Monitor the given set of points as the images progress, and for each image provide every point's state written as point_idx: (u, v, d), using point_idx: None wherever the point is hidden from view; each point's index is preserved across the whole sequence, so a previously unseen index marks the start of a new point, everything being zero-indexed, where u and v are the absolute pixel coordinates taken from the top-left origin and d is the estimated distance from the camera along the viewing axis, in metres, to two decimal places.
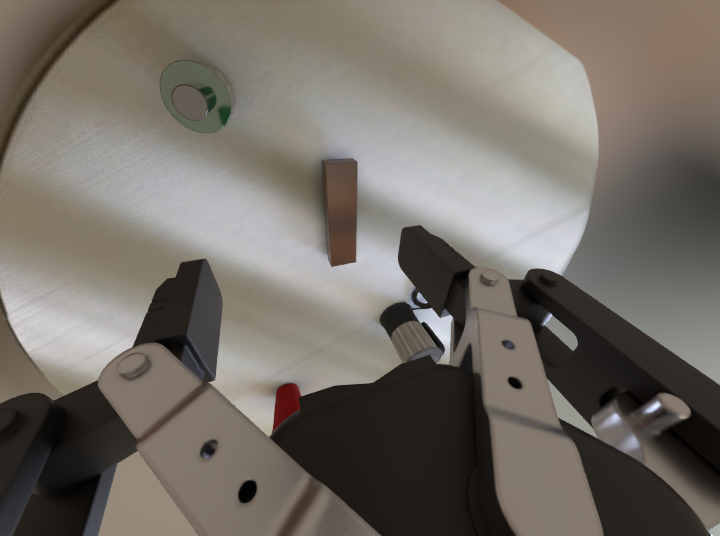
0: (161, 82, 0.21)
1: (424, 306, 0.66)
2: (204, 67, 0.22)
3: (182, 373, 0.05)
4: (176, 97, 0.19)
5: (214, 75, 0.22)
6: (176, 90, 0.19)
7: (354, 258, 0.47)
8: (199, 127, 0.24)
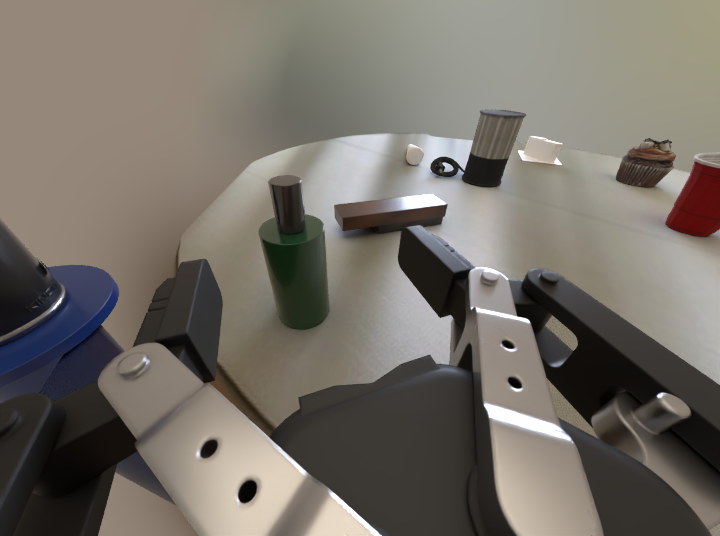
0: (280, 243, 0.19)
1: (455, 164, 0.66)
2: (263, 224, 0.22)
3: (182, 373, 0.05)
4: (280, 184, 0.18)
5: (269, 220, 0.22)
6: (274, 183, 0.18)
7: (428, 194, 0.45)
8: (319, 227, 0.22)
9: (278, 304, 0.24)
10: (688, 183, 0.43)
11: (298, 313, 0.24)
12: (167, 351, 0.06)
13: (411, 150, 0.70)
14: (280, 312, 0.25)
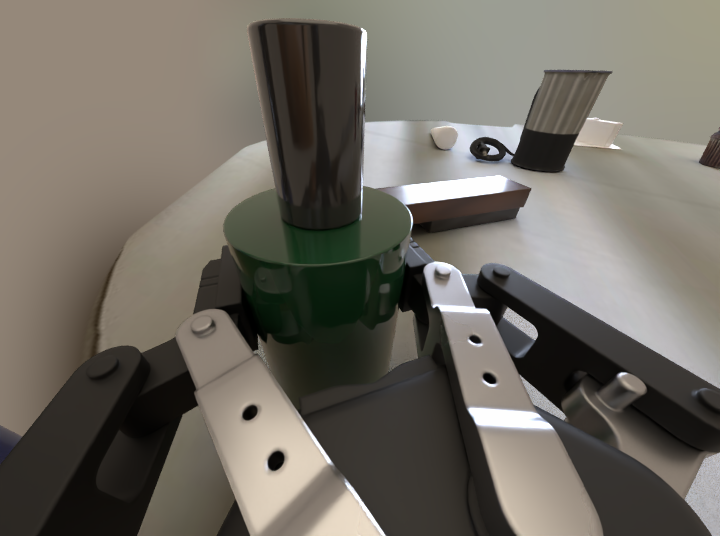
0: (291, 261, 0.06)
1: (501, 146, 0.53)
2: (240, 203, 0.08)
3: (238, 341, 0.06)
4: None
5: (258, 194, 0.08)
6: (269, 19, 0.04)
7: (495, 176, 0.31)
8: (396, 210, 0.08)
9: None
10: None
11: None
12: (229, 315, 0.07)
13: (442, 130, 0.57)
14: None
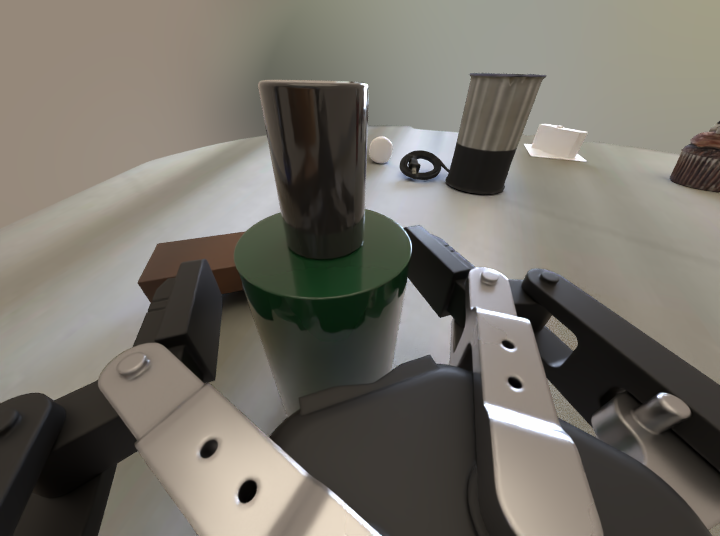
0: (299, 294, 0.06)
1: (436, 161, 0.45)
2: (249, 230, 0.08)
3: (182, 373, 0.05)
4: (303, 82, 0.05)
5: (265, 220, 0.09)
6: (279, 81, 0.05)
7: None
8: (396, 236, 0.08)
9: (287, 410, 0.11)
10: None
11: None
12: (167, 351, 0.06)
13: (374, 142, 0.49)
14: None
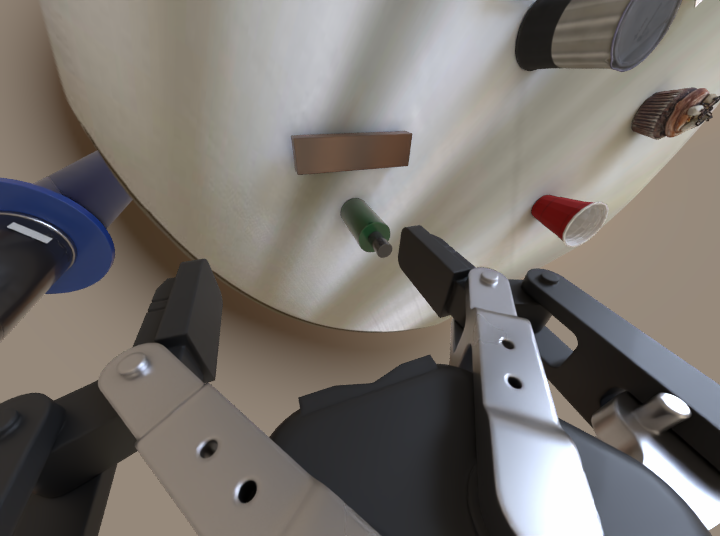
0: (367, 251, 0.41)
1: None
2: (361, 232, 0.39)
3: (182, 373, 0.05)
4: (382, 255, 0.38)
5: (364, 228, 0.39)
6: (379, 255, 0.37)
7: (406, 136, 0.39)
8: (387, 238, 0.41)
9: None
10: (566, 206, 0.57)
11: None
12: (167, 351, 0.06)
13: None
14: None
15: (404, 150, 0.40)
